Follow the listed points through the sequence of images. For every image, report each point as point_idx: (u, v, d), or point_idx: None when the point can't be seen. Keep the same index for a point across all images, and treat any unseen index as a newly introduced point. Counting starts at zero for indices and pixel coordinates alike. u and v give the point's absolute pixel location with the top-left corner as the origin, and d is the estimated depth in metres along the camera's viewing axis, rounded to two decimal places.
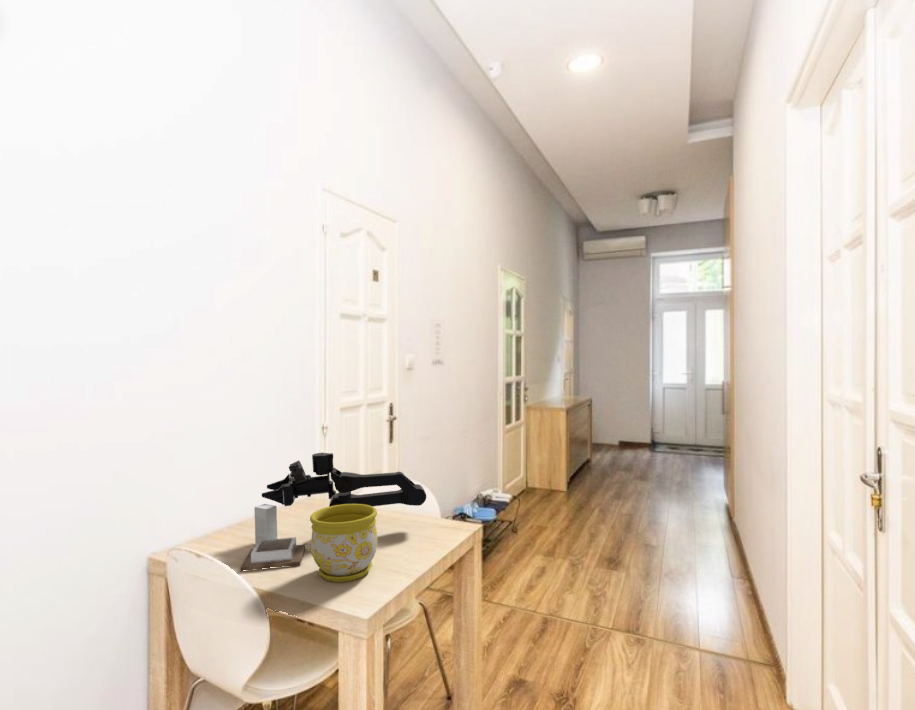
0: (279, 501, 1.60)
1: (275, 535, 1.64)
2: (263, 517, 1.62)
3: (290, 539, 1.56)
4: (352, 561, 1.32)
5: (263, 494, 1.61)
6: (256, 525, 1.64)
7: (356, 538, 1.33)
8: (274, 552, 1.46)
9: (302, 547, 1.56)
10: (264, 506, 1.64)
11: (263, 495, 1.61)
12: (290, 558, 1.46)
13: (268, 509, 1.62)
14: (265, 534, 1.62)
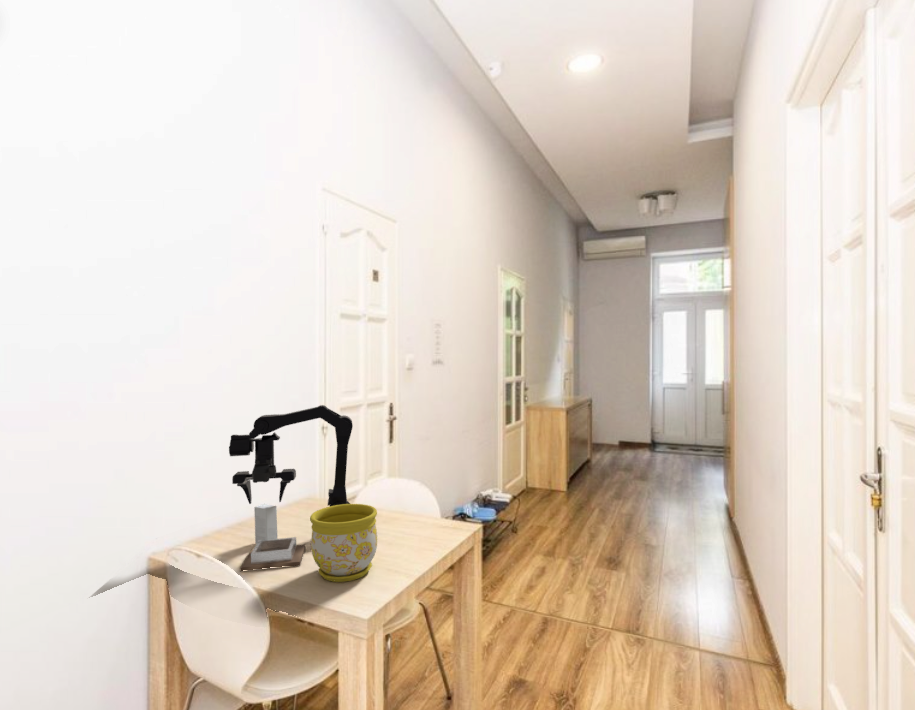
0: None
1: (275, 535, 1.64)
2: (263, 517, 1.62)
3: (290, 539, 1.56)
4: (352, 561, 1.32)
5: None
6: (256, 525, 1.64)
7: (356, 538, 1.33)
8: (274, 552, 1.46)
9: (302, 547, 1.56)
10: (264, 506, 1.64)
11: (280, 500, 1.65)
12: (290, 558, 1.46)
13: (268, 509, 1.62)
14: (265, 534, 1.62)
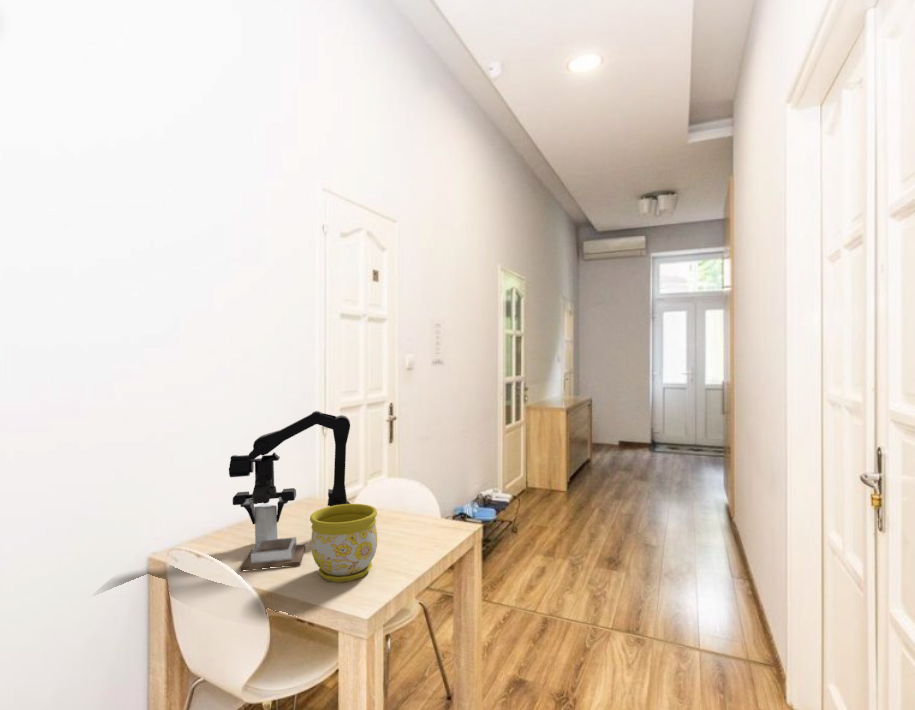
0: None
1: (275, 535, 1.64)
2: (263, 517, 1.62)
3: (290, 539, 1.56)
4: (352, 561, 1.32)
5: (278, 520, 1.65)
6: (256, 525, 1.64)
7: (356, 538, 1.33)
8: (274, 552, 1.46)
9: (302, 547, 1.56)
10: (264, 506, 1.64)
11: None
12: (290, 558, 1.46)
13: (268, 509, 1.62)
14: (265, 534, 1.62)
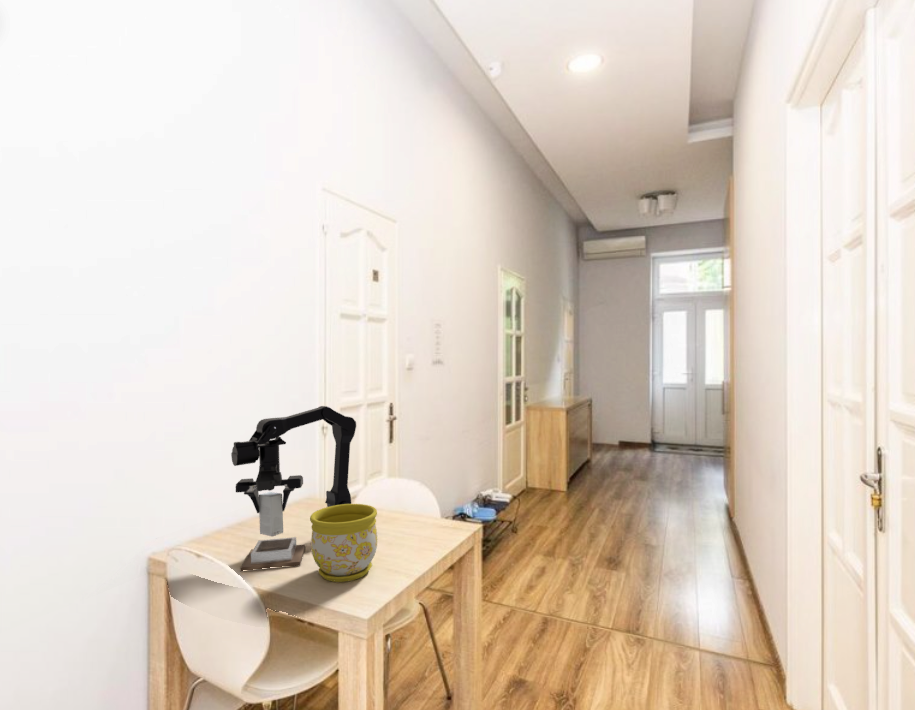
0: (290, 490, 1.58)
1: (281, 525, 1.54)
2: (267, 505, 1.52)
3: (290, 539, 1.56)
4: (352, 561, 1.32)
5: (284, 509, 1.55)
6: (260, 514, 1.54)
7: (356, 538, 1.33)
8: (274, 552, 1.46)
9: (302, 547, 1.56)
10: (269, 494, 1.54)
11: (284, 509, 1.55)
12: (290, 558, 1.46)
13: (273, 497, 1.52)
14: (270, 523, 1.52)
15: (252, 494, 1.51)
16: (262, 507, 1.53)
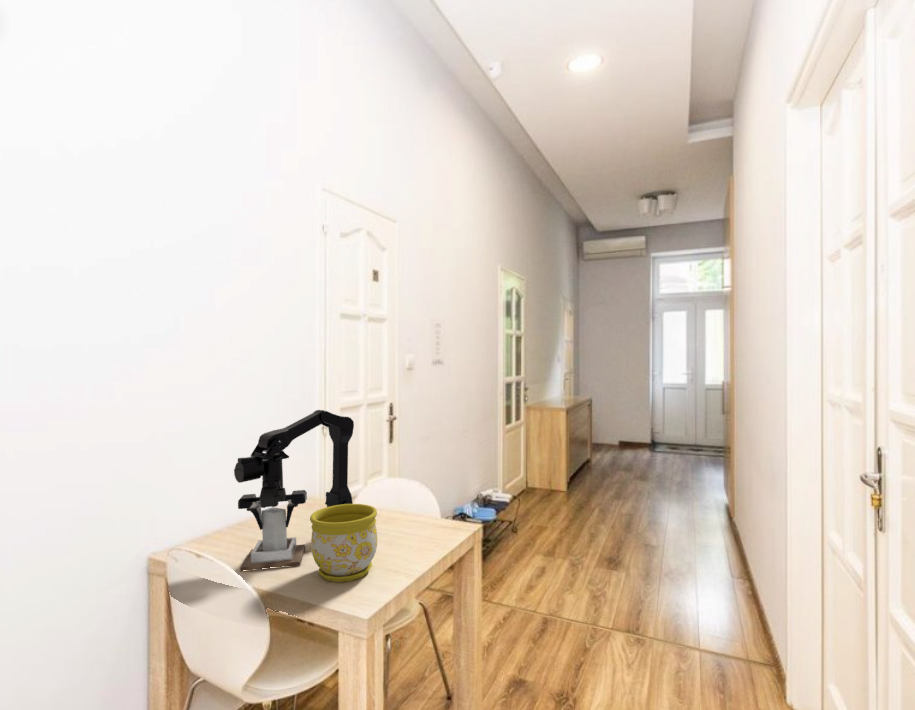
0: None
1: (284, 541, 1.50)
2: (271, 522, 1.48)
3: (290, 539, 1.56)
4: (352, 561, 1.32)
5: None
6: (263, 530, 1.50)
7: (356, 538, 1.33)
8: (274, 552, 1.46)
9: (302, 547, 1.56)
10: (272, 510, 1.51)
11: (287, 525, 1.52)
12: (290, 558, 1.46)
13: (277, 513, 1.48)
14: (274, 540, 1.48)
15: (255, 510, 1.48)
16: (265, 523, 1.50)
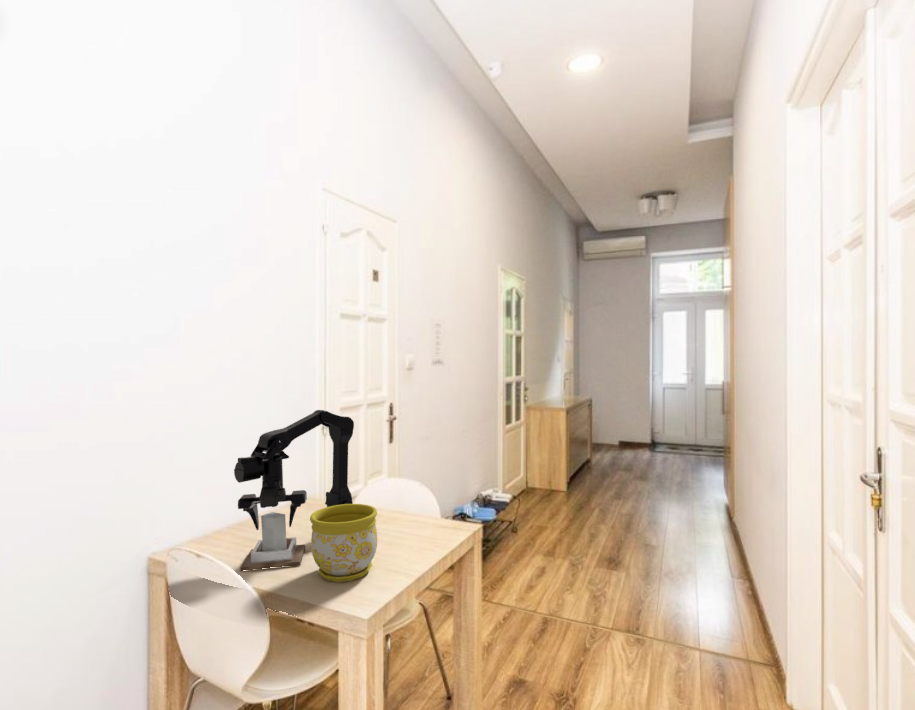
0: None
1: (284, 546, 1.50)
2: (270, 527, 1.48)
3: (290, 539, 1.56)
4: (352, 561, 1.32)
5: None
6: (263, 535, 1.50)
7: (356, 538, 1.33)
8: (274, 552, 1.46)
9: (302, 547, 1.56)
10: (272, 515, 1.50)
11: (290, 525, 1.52)
12: (290, 558, 1.46)
13: (276, 518, 1.48)
14: (273, 545, 1.48)
15: (251, 511, 1.47)
16: (265, 528, 1.50)
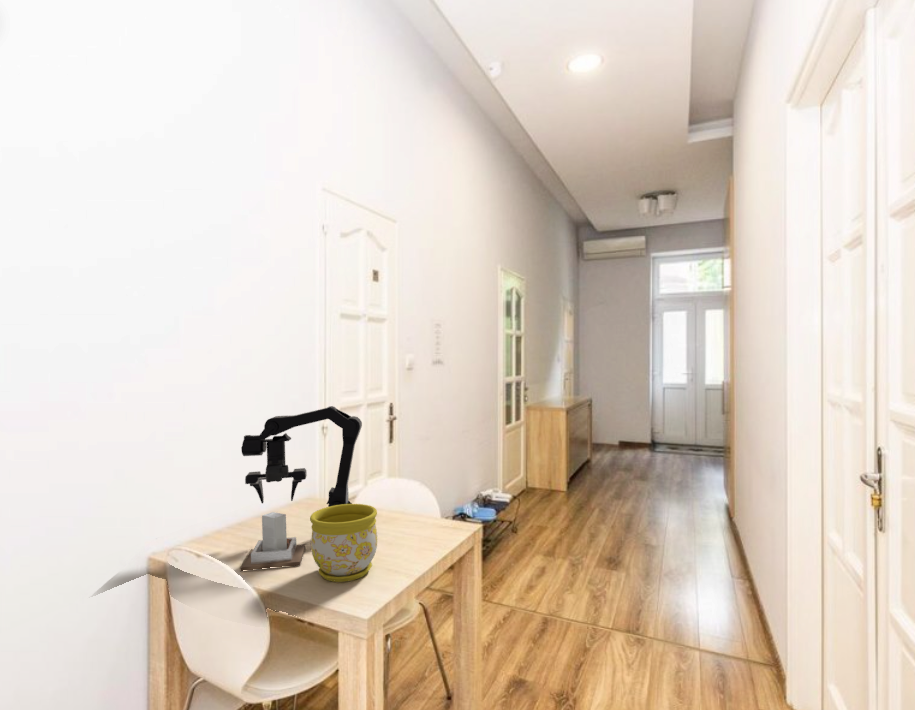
0: None
1: (284, 546, 1.50)
2: (271, 527, 1.48)
3: (290, 539, 1.56)
4: (352, 561, 1.32)
5: (292, 498, 1.69)
6: (263, 535, 1.50)
7: (356, 538, 1.33)
8: (274, 552, 1.46)
9: (302, 547, 1.56)
10: (272, 515, 1.51)
11: None
12: (290, 558, 1.46)
13: (277, 518, 1.48)
14: (274, 545, 1.48)
15: (257, 486, 1.65)
16: (265, 528, 1.50)
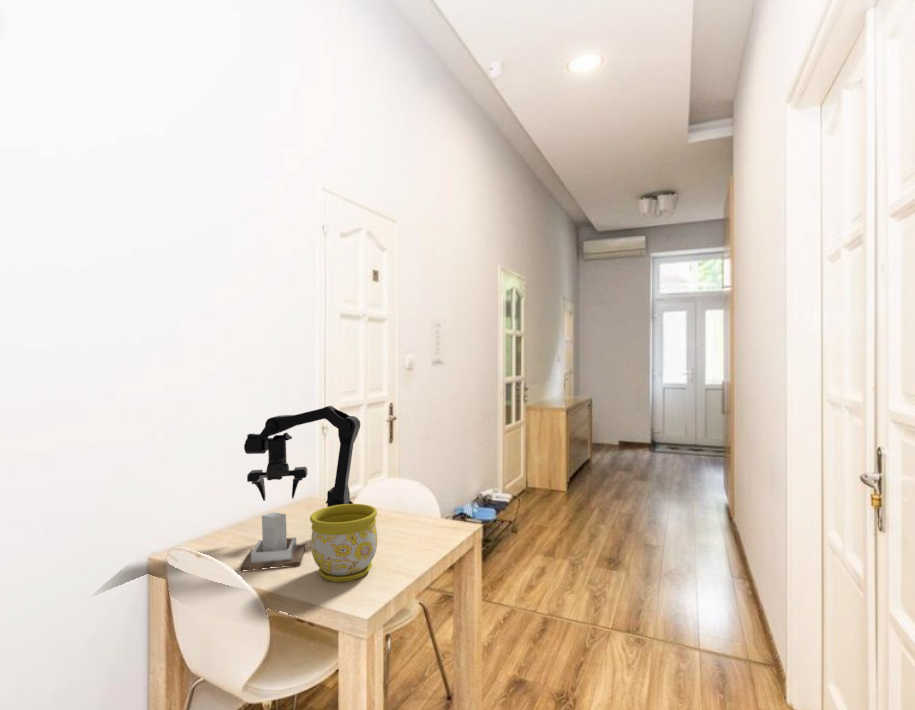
0: None
1: (284, 546, 1.50)
2: (271, 527, 1.48)
3: (290, 539, 1.56)
4: (352, 561, 1.32)
5: (293, 496, 1.73)
6: (263, 535, 1.50)
7: (356, 538, 1.33)
8: (274, 552, 1.46)
9: (302, 547, 1.56)
10: (272, 515, 1.51)
11: None
12: (290, 558, 1.46)
13: (277, 518, 1.48)
14: (274, 545, 1.48)
15: (259, 483, 1.69)
16: (265, 528, 1.50)
